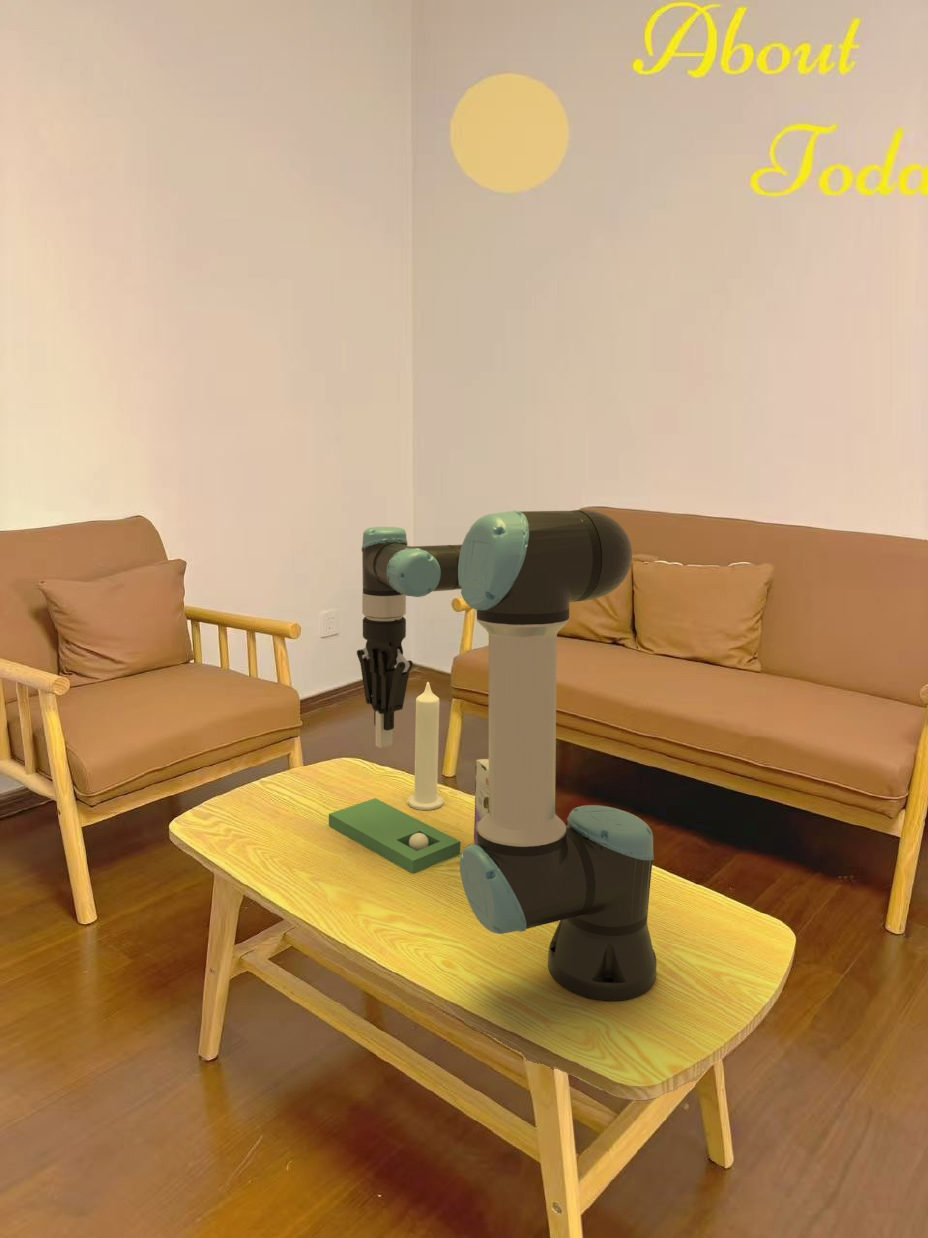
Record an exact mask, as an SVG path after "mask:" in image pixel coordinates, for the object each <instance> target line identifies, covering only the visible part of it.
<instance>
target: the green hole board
mask: <svg viewBox="0 0 928 1238" xmlns="http://www.w3.org/2000/svg"><path fill="white" fill-rule="evenodd" d="M328 826H329V827H330V828H332V829H334V830H335V831H337V832H339V833H341V834H343V835H344V836H346V837H348V838H350V840H351V839H352V840H353V841H354V842H356V843H358V844H360V845H361V846H364V847H365V848H366V849H369V850H370V851H372V852H374V853H376V854H378V855H379V856H381V857H383V858H384V859H386V860H388V861H389V862H391V863H393V864H394V865H397V866H398V867H400V868H401V869H403V870H406V872H409V873H411V874H412V875H414V874H416V873H418V872H420V871H423V870H425V869H427V868H429V867H433V866H434V865H438V864H439V863H442V862H444V861H446V860H449V859H451V858H453V857H456V856H458V855H461V840H459V839H457V838H455V837H454V836H451V835H450V834H447V833H445V832H443V831H441V830H439V829H437V828H436V827H433V826H431V825H429V824H427V823H425V822H423V821H421V820H420V819H417V818H415V817H414V816H412V815H410V814H407V813H406V812H404V811H402V810H401V809H398V808H397V807H394V806H392V805H390V804H388V803H386V802H385V801H382V800H380V799H378V798H376V797H374V798H371V799H369V800H365V801H362V802H360V803H359V802H358V803H356V804H354V805H351V806H348V807H344V808H342V809H339V810H335V811H333V812H330V813H328ZM415 833H422V834H424V835H425V836H426V837H427V838H428V841H429V845H428V847H425V848H423V849H420V850H418V851H416V850H414V849H412V848H410V847H409V839H410V837H411V836H412V835H413V834H415Z"/></svg>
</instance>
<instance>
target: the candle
mask: <svg viewBox="0 0 928 1238" xmlns="http://www.w3.org/2000/svg"><path fill="white" fill-rule="evenodd" d="M439 725H440V698H439V697H438V696H437V695H436V694H434V693H433V691H432V688H431V684H430V682H429V681H427V682H426V685H425V689H424V691H423V693H421V694H419V695H418V696H417V697H416V699H415V730H414V731H415V734H414V735H415V738H414V742H415V743H414V745H415V746H414V786H413V787H414V791H413V792H414V793H413V794H410V795H409V796H408V798H407V804H408V805H409V807H411V808H412V809H415V810H418V811H419V810H420V811H432V810H433V811H434V810H437V809H439V808H441V807H443V805H444V798H443V797H442V795H440V794H438V773H439V772H438V771H439V769H438V767H439V736H440V735H439V730H440V726H439Z"/></svg>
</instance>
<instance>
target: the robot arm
mask: <svg viewBox="0 0 928 1238" xmlns="http://www.w3.org/2000/svg"><path fill="white" fill-rule="evenodd" d="M361 554H362V558H361V559H362V562H361V565H362V596H361V597H362V598H361V599H362V600H361V601H362V603H361V605H362V607H361V608H362V611H361V613H362V614H363V616H364V617H363V619H362V638H363V639H365V640H366V642H365V647H364V648H362V649H358V650H357V651H356V656H357V658H358V661H359V664H360V665H359V666H360V670H361V677H362V685H363V690H364V697H365V702H366V704H367V705H370V706H371V707H372V710H374V711H373V717H374V719H373V722H374V727H375V747H377V748H379V749H383V748H387V747H389V746H392V745H393V736H394V735H393V731H394V728H395V713H396V711H397V712H398V711H401V710H403V708H404V703H405V702H404V701H405V697H406V693H407V692H406V691H407V687H408V682H409V681H408V680H409V674H410V672H411V670H412V668H413V666H414V663H413V661H412V660H411V659H410V660H407V658H406V657H405V655H404V649H403V647H402V646H403V645H402V643H403V640H404V639H405V638H406V637H407V632H406V631H407V620H406V618H405V617H404V616H405V615H406V613H407V607H406V605H407V596H408V597H413V598H421V597H425V596H427V595H429V594H430V593H432V592H444V591H454V590H456V591H457V590H460V594H461V596H462V599H463V601H464V602H465V604H466V605H467V606H468V607H470V608H471V609H474V610H476V621H477V622H478V624H480V626H482V627H483V629H485V631H486V632H487V633H488V758H489V812H488V814H487V815H486V816H485V817H483V818H482V819H481V820H480V821H479V822H478V825H477V844H476V845H475V844H474V843H473V844H472V843H471V844H469V845H468V846H466V847H465V848H464V849H462V853H460V858H459V872H460V873H459V874H460V881H461V884H462V888H463V891H464V895H465V897H466V900H467V901H468V904H469V906H470V907H469V908H470V909H471V911H472V913H473V914H474V916H475V917H476V919H477V920H478V921H479V923H480V924H481V925H482V926H483V927H484V929H486V930H487V931H489V932H490V933H493V934H497V935H503V934H508V933H513V932H514V933H515V932H518V933H519V932H520V933H522V932H526V930H528V929H532V928H535V927H539V926H543V925H548V924H552V923H556V922H558V924H557V926H556V928H555V931H554V934H553V936H552V939H551V941H550V943H549V947H548V952H547V954H548V955H547V967H548V970H549V973H550V975H551V976H552V977H553V980H555V981H556V982H557V983H559V985H560V986H562V987H563V988H565V989H566V990H568V991H569V992H572V993H574V994H576V995H579V996H582V997H585V998H589V999H594V1000H598V1001H608V1002H609V1001H624V1000H629V999H633V998H636V997H639V996H640V995H643V994H644V992H645V991H646V992H647V991H649V990H650V989H651V988H652V987H653V985H654V984H655V981H654V980H656V976H657V956H656V953H655V949H653V943H652V938H651V935H650V930H649V927H648V915H649V903H650V891H651V888H650V887H651V882H652V881H651V879H652V871H653V870H652V868H653V862H654V861H653V860H654V859H655V858H654V857H655V854H654V835H653V832H652V829H651V827H650V826H649V825H648V823H646V822H645V821H644V820H643V819H641V818H640V817H638V816H636V815H635V814H632V813H631V812H628V811H625V810H621V809H619V808H616V807H612V806H611V807H610V806H606V805H605V806H604V805H597V804H595V805H593V804H587V805H581V806H577V807H574V808H572V809H571V811H570V812H569V813H568V814H569V815H568V817H566V818H567V819H566V822H567V825H566V824H565V822H564V821H563V820H562V819H561V818H560V817H559V816H558V815H557V814H556V755H557V754H556V747H557V744H556V743H557V739H556V738H557V737H556V736H557V733H556V732H557V670H558V669H557V663H558V662H557V657H558V655H557V654H558V650H557V649H558V633H559V632H560V630H562V629H563V628H564V627H565V626H566V625H567V624H568V623H569V621H570V603H573V602H574V603H575V602H582V601H583V602H585V601H591V600H592V601H593V600H594V599H598V598H602V597H605V596H607V595H608V594H610V593H612V592H613V591H615V590H616V589H617V588H619V586H620V585H621V584H622V583H623V582H624V581H625V580H626V578H627V576H628V574H629V572H630V568H631V566H632V561H633V548H632V543H631V540H630V538H629V535H628V533H627V532H626V530H625V529H624V528H623V527H622V526H621V525H620V524H619V522H617V521H616V520H615V519H613V518H612V517H610V516H608V515H607V514H604V513H601V512H599V511H595V510H587V509H574V510H573V509H572V510H534V511H533V510H531V511H530V510H528V511H526V510H525V511H523V510H522V511H520V510H513V511H504V512H503V511H502V512H495V513H488V514H485V515H483V516H481V517H480V518H478V519H477V520H475V521H474V523H472V525H471V526H470V528H469V530H468V532H467V533H466V534H465V537H464V539H463V540H462V543H461V544H441V545H419V546H418V545H417V546H414V545H413V546H411V545H410V546H409V545H408V540H407V532H406V531H405V529H404V528H401V527H396V526H395V527H394V526H373V527H372V526H371V527H368V528H366V529H365V530H364V531H363V534H362V547H361ZM652 984H653V985H652ZM649 988H650V989H649ZM646 992H645V993H646Z"/></svg>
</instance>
